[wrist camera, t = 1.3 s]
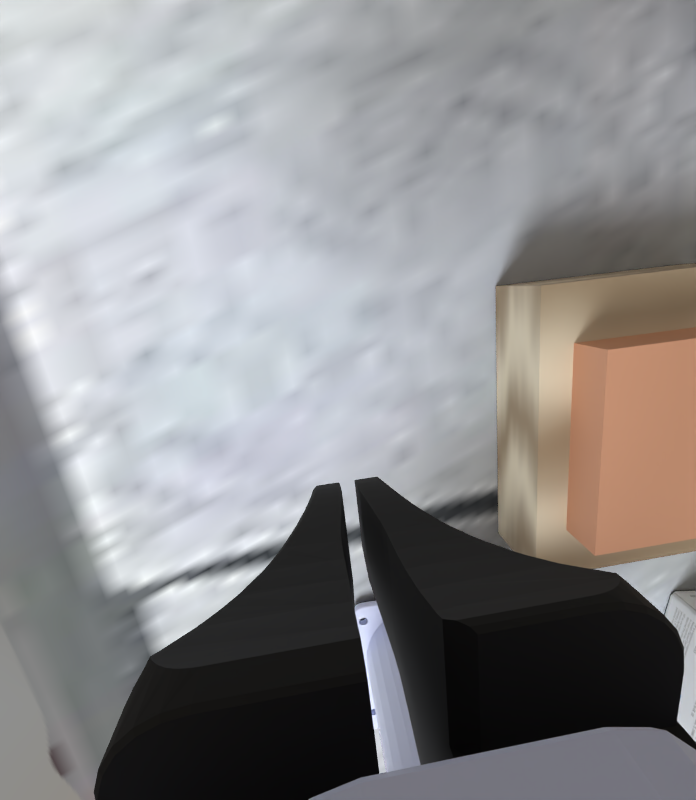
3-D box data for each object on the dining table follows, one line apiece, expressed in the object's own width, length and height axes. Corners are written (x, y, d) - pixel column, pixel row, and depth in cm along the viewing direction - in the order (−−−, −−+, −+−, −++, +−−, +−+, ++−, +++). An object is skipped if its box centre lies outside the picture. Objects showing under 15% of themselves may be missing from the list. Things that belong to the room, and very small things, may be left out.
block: (682, 510, 20) (722, 533, 18) (566, 529, 20) (594, 555, 18) (705, 325, 18) (754, 330, 16) (573, 343, 17) (608, 349, 15)
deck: (657, 506, 25) (722, 546, 21) (498, 532, 24) (535, 578, 20) (683, 264, 21) (768, 258, 17) (495, 286, 20) (540, 285, 17)
